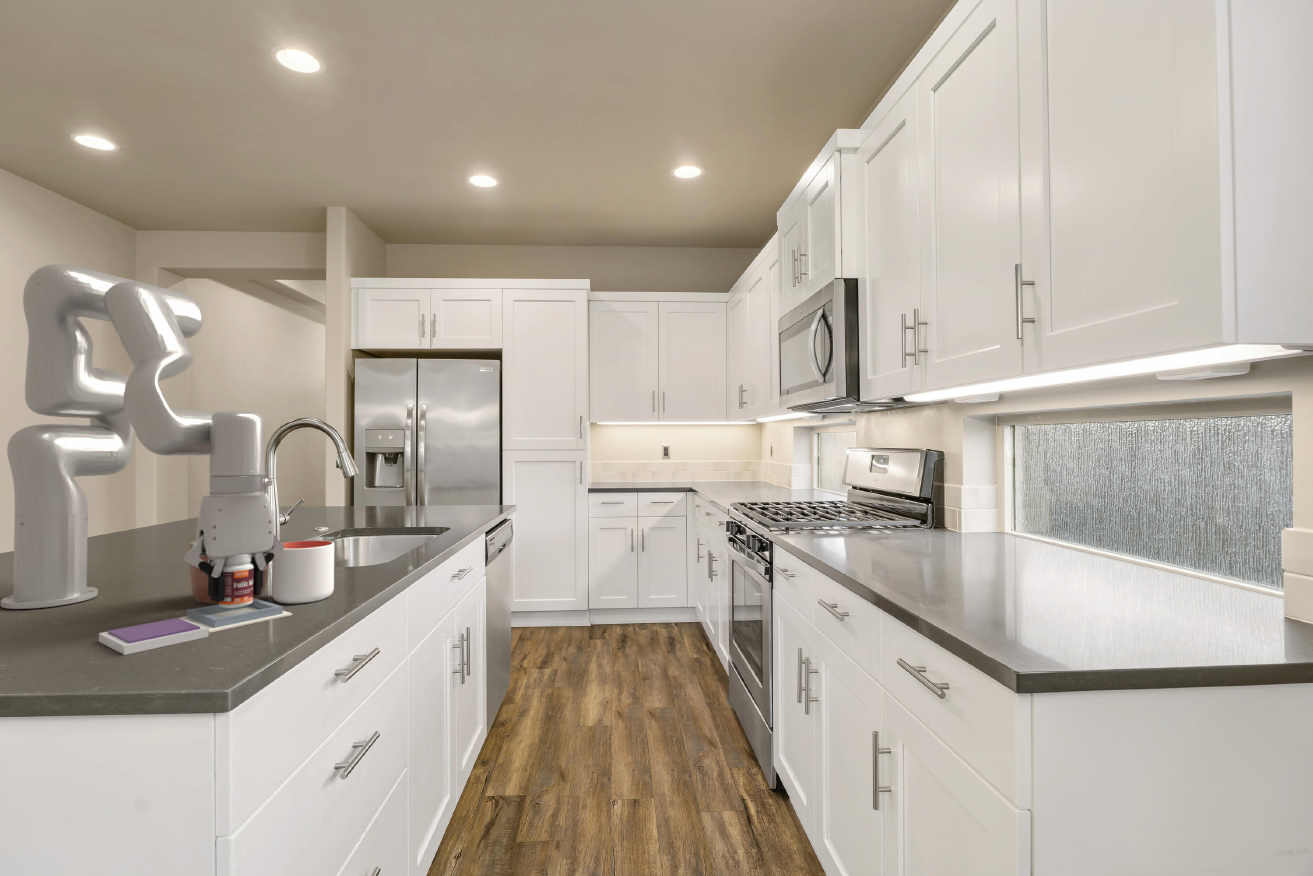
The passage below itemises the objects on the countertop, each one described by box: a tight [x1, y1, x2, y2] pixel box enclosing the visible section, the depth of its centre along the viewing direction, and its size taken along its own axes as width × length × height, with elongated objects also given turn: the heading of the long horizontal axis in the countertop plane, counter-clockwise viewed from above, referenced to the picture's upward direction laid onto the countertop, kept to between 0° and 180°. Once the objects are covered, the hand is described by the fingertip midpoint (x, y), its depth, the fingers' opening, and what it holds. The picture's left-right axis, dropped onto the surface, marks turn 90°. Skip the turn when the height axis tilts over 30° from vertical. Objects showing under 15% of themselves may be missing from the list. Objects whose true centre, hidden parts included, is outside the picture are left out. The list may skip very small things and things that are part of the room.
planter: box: [188, 539, 270, 605], centre depth 117 cm, size 12×12×11 cm
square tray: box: [179, 597, 293, 634], centre depth 105 cm, size 12×12×2 cm
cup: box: [271, 540, 335, 605], centre depth 118 cm, size 10×10×10 cm
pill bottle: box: [218, 554, 254, 608], centre depth 105 cm, size 5×5×8 cm
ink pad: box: [98, 617, 210, 656], centre depth 93 cm, size 10×10×2 cm
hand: (236, 596), depth 105 cm, fingers closed on pill bottle, 4 cm apart
